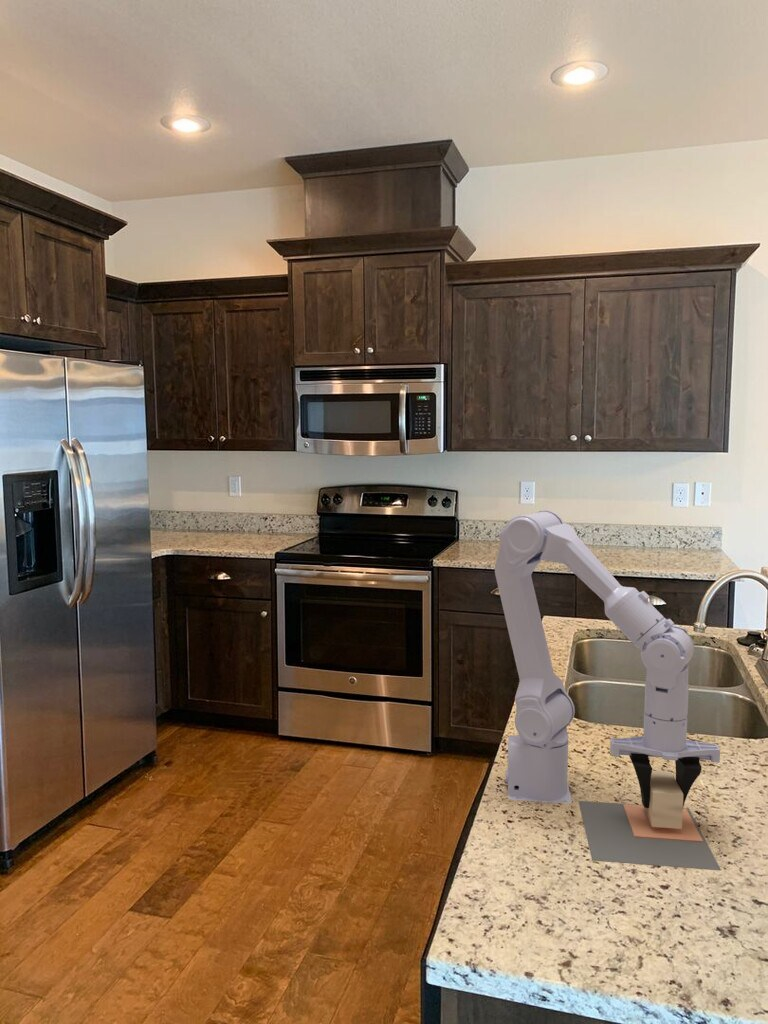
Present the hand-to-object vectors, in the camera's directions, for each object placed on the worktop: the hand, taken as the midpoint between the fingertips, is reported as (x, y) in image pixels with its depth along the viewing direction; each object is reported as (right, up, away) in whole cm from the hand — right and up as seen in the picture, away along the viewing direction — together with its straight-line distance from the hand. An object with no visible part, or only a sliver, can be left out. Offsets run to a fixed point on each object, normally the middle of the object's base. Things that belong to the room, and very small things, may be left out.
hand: (661, 805), depth 107 cm
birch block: (0, -2, 0) cm, 2 cm away
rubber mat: (-3, -3, -2) cm, 5 cm away
